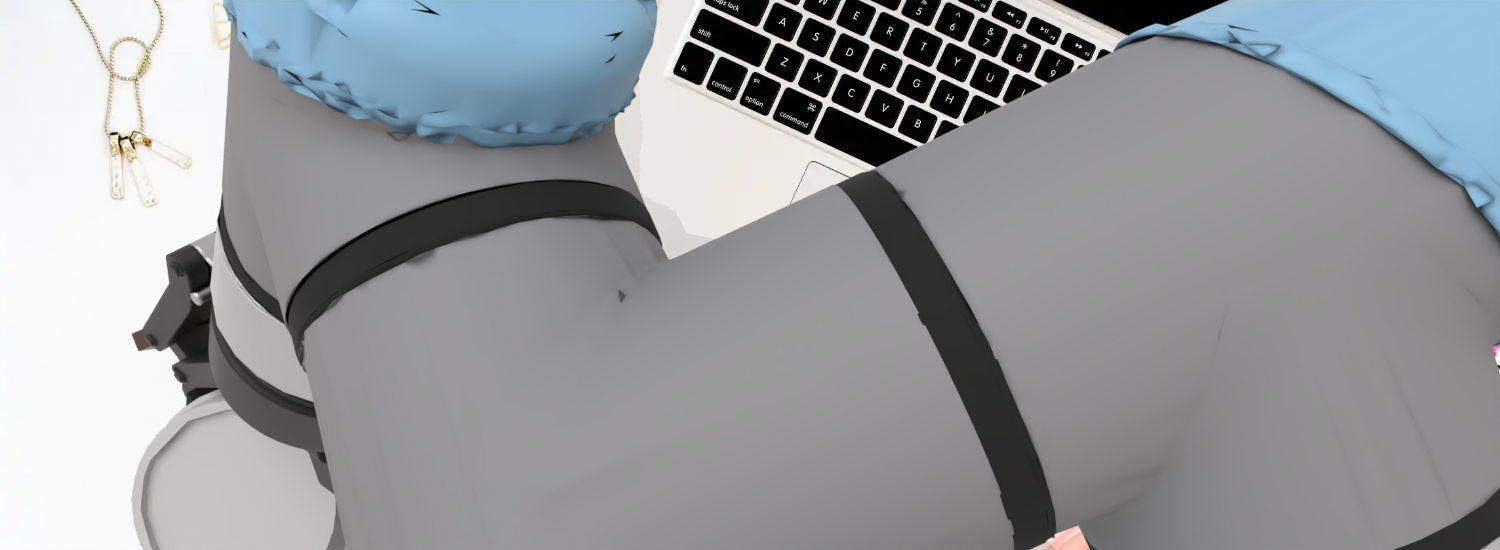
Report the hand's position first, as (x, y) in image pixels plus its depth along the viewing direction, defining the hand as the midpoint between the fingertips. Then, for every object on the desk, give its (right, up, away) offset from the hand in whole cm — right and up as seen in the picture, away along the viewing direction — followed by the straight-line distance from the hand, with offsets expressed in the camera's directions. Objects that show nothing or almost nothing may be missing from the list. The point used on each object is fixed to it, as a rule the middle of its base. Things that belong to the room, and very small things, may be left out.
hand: (285, 504), depth 43 cm
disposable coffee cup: (+2, +2, +4) cm, 6 cm away
